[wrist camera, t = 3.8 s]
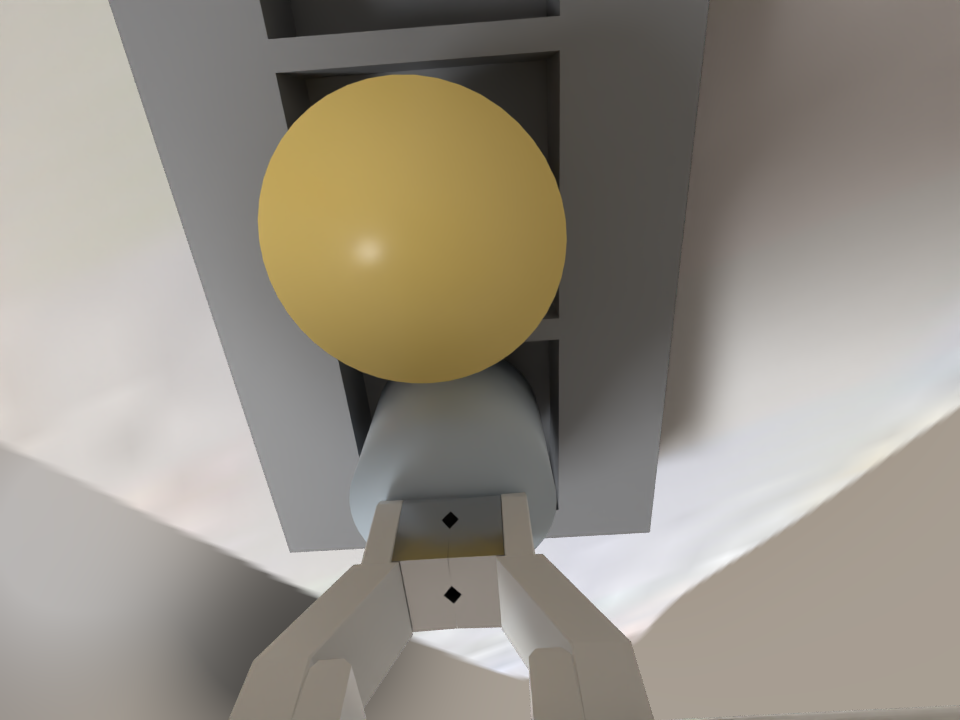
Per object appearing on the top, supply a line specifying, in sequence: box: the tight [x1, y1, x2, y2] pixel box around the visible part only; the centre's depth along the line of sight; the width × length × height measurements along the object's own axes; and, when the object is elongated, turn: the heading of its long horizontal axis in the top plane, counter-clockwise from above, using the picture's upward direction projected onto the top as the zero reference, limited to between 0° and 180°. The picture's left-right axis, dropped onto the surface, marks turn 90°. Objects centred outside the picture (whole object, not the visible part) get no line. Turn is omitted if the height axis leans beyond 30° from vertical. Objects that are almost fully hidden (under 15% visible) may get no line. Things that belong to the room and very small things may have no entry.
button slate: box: [349, 359, 557, 550], centre depth 12 cm, size 4×4×3 cm
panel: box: [108, 0, 710, 553], centre depth 11 cm, size 18×10×2 cm, turn 4°
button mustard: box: [258, 75, 567, 383], centre depth 8 cm, size 4×4×3 cm
